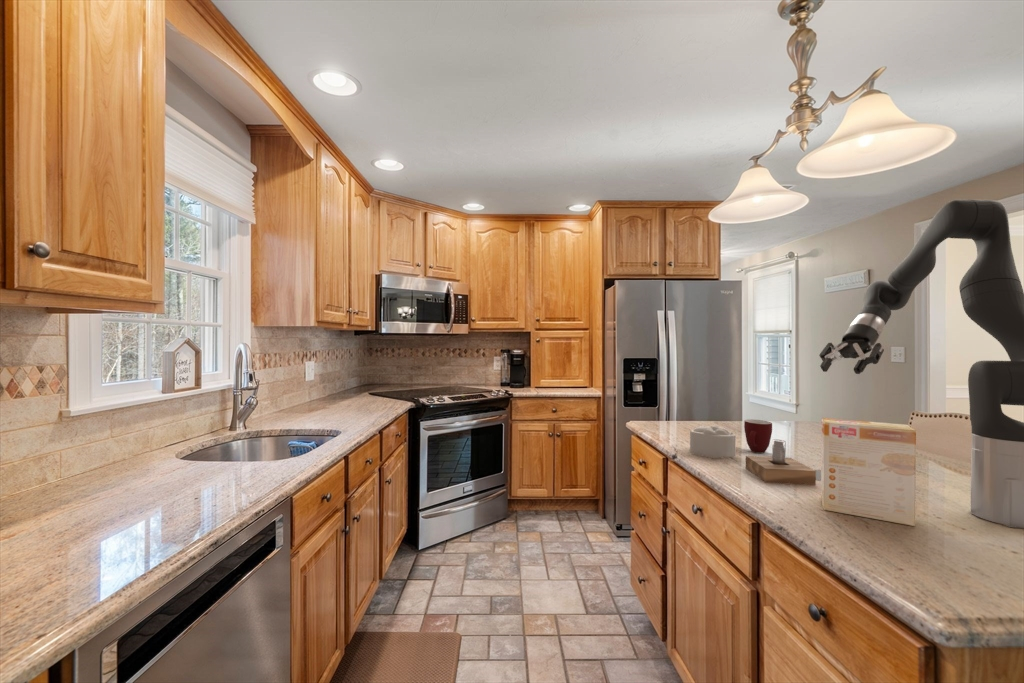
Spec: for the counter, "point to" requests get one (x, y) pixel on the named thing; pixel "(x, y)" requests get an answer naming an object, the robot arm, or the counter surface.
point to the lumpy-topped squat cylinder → (712, 442)
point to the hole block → (780, 471)
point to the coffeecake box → (869, 469)
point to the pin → (778, 452)
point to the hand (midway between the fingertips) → (839, 370)
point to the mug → (758, 434)
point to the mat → (818, 475)
